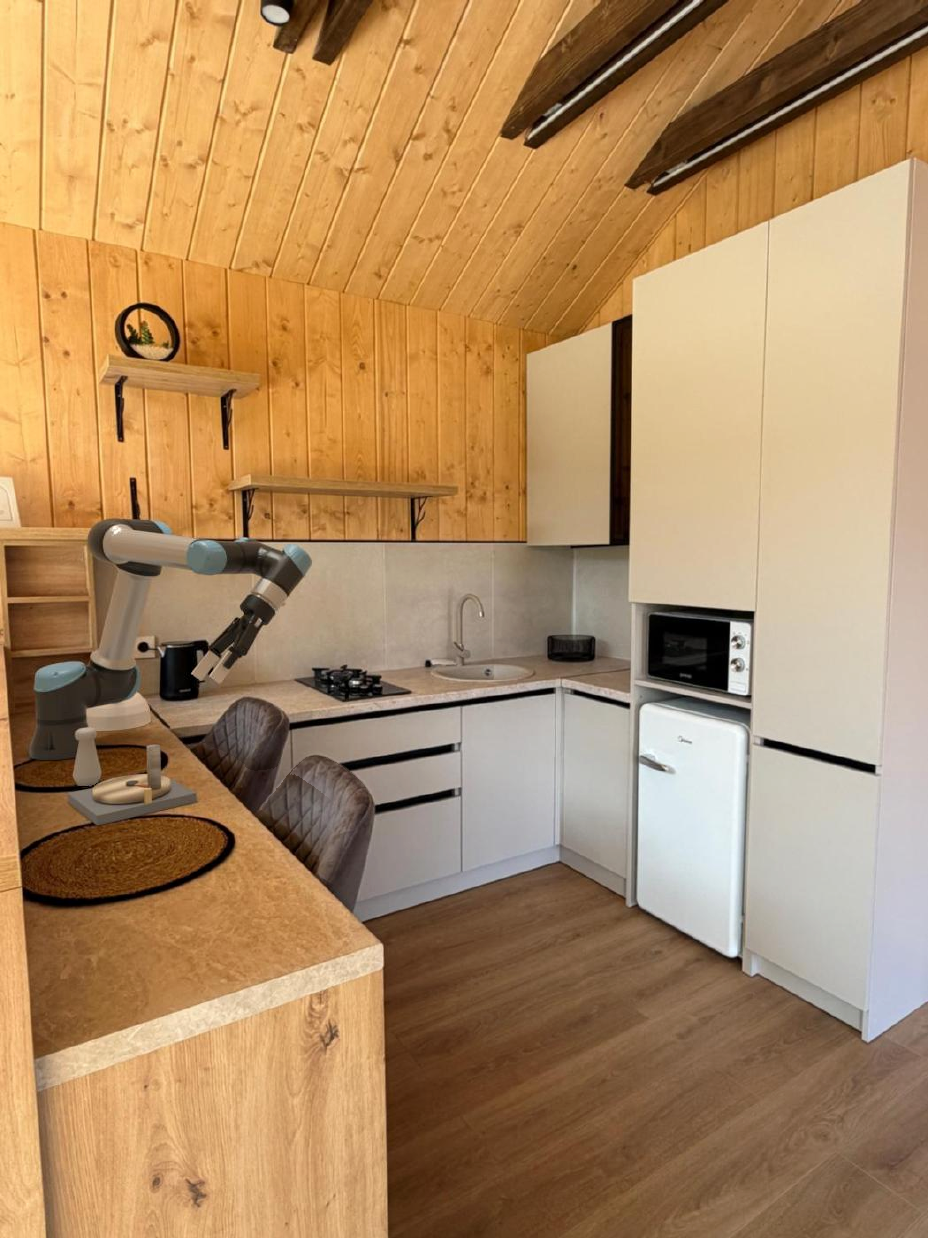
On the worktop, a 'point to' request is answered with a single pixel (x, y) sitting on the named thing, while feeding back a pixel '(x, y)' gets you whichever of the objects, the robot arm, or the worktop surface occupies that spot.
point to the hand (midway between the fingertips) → (204, 678)
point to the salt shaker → (86, 758)
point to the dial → (134, 783)
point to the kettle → (120, 715)
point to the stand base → (130, 804)
